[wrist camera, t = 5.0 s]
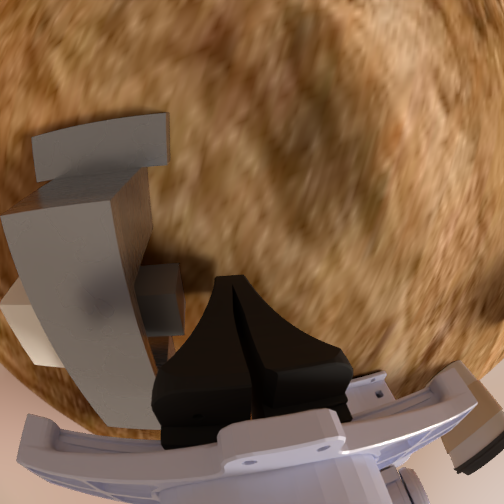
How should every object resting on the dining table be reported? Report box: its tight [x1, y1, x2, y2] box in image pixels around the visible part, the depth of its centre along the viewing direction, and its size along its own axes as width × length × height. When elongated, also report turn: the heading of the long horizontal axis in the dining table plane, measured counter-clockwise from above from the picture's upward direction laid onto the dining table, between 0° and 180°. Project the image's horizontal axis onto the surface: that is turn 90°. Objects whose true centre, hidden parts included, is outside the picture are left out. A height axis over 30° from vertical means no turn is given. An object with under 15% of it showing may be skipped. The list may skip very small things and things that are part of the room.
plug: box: [0, 263, 185, 368], centre depth 11 cm, size 8×4×4 cm, turn 90°
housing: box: [0, 113, 176, 430], centre depth 11 cm, size 6×16×5 cm, turn 178°
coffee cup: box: [425, 360, 504, 475], centre depth 21 cm, size 9×9×15 cm
